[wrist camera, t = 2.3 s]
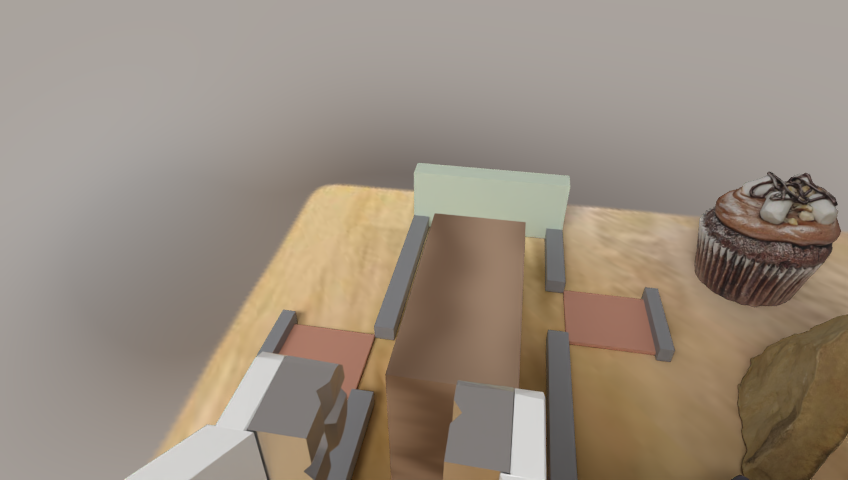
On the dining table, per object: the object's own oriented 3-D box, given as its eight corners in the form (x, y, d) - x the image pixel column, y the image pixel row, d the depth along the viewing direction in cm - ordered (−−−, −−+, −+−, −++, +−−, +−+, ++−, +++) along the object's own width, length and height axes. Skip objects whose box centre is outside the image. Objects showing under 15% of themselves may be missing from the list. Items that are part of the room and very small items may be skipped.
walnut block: (509, 342, 41) (525, 222, 35) (497, 522, 30) (518, 393, 23) (432, 332, 42) (434, 213, 36) (392, 503, 31) (385, 374, 24)
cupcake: (757, 242, 52) (799, 148, 46) (831, 310, 44) (893, 206, 38) (664, 250, 51) (695, 154, 45) (723, 320, 43) (770, 215, 37)
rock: (838, 537, 27) (957, 443, 30) (781, 381, 26) (908, 300, 29) (679, 463, 37) (778, 399, 40) (636, 350, 37) (740, 293, 40)
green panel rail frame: (637, 236, 53) (652, 182, 49) (736, 615, 26) (785, 557, 23) (348, 207, 57) (344, 156, 53) (179, 509, 30) (148, 445, 27)
